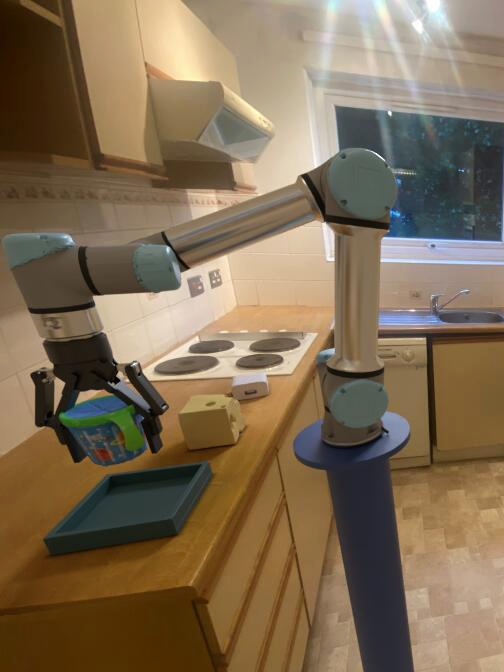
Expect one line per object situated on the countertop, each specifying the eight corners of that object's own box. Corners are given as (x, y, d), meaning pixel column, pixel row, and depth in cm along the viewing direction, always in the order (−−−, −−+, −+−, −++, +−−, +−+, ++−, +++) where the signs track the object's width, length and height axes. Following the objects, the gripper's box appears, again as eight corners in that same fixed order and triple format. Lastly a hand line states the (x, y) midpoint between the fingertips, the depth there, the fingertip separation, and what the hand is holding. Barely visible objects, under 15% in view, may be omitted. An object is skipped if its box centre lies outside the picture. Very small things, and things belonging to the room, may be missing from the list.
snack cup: (67, 456, 77) (44, 405, 74) (139, 432, 86) (121, 385, 82) (99, 485, 70) (75, 429, 66) (174, 456, 78) (157, 405, 74)
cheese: (246, 425, 114) (237, 390, 110) (236, 445, 104) (226, 408, 100) (201, 431, 111) (190, 395, 107) (186, 452, 101) (173, 414, 97)
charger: (268, 378, 144) (269, 395, 132) (235, 383, 140) (234, 401, 128) (265, 365, 142) (266, 380, 130) (232, 370, 138) (230, 386, 126)
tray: (213, 474, 93) (209, 460, 92) (177, 534, 76) (171, 518, 75) (112, 488, 88) (106, 474, 87) (51, 555, 71) (42, 539, 70)
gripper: (-40, 347, 63) (24, 475, 71) (148, 336, 69) (187, 455, 77) (0, 333, 69) (54, 452, 78) (168, 324, 75) (201, 435, 84)
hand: (120, 454), depth 77 cm, fingers closed on snack cup, 11 cm apart
